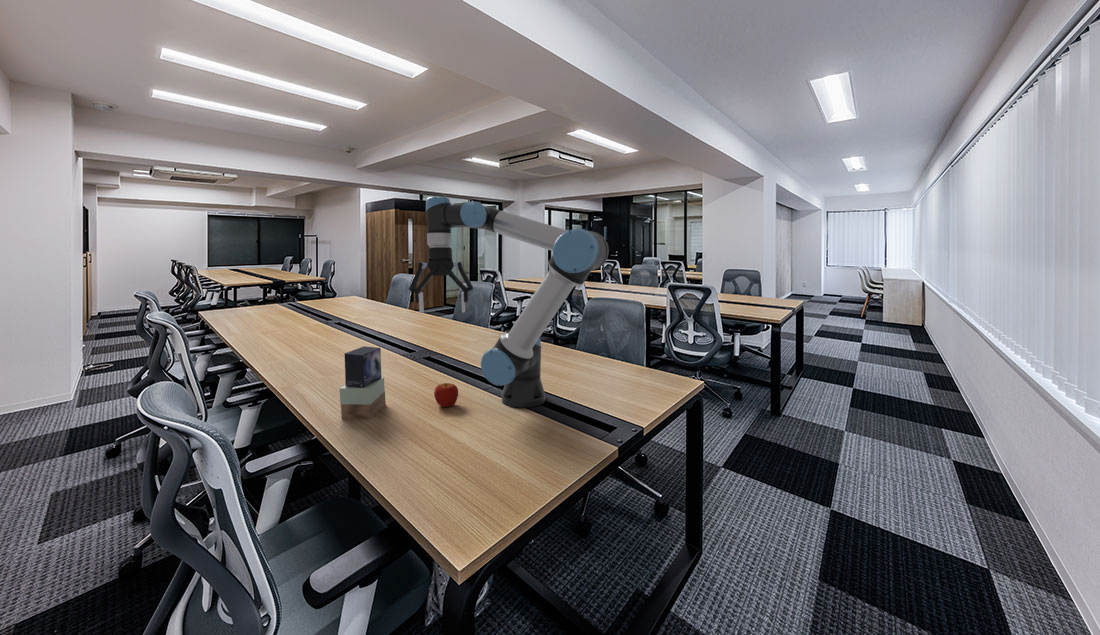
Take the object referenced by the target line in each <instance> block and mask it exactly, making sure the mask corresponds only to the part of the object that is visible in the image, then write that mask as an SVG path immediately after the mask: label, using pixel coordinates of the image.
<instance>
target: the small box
mask: <svg viewBox="0 0 1100 635" xmlns="http://www.w3.org/2000/svg"><path fill="white" fill-rule="evenodd" d="M381 351H382V350H381V347H375V346H365V345H364V346H360V347H359V348H356V349H353V350H350V351H348V352H344V373H345V374H344V377H345V378H344V379H345V384H344V385H345V386H350V387H361V388H364V387H365V386H367V385H369V384H371V383H373V382H375V381H377V380H379V379H381V377H382V355H381V354H382V353H381Z"/></svg>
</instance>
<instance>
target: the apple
mask: <svg viewBox="0 0 1100 635" xmlns="http://www.w3.org/2000/svg"><path fill="white" fill-rule="evenodd" d="M433 396H434V399H435V401H436V403H437V404H438V406H441V407H443V408H451V407H453V406H454V405H455V404H456V402H457V401H458V397H459V388H458V386H456V385H455V384H454V383H449V382H444V383H441V384H438V385H437V386H436V387H435V389H434V393H433Z"/></svg>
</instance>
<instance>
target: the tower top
mask: <svg viewBox="0 0 1100 635" xmlns="http://www.w3.org/2000/svg"><path fill="white" fill-rule="evenodd" d="M384 392H385V393H386V390H385V377H384V376H381V379H379V380H377V381H375V382H373V383H371V384H369V385H367V386H365V387H364V388H361V387H350V386H345V384H343V386H341V387H340V388H339V404H340V405H341V404H372V403H373V402H374V401H375V400H376V399H377V398H378V397H379V396H380V395H381V394H383V393H384Z"/></svg>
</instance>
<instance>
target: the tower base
mask: <svg viewBox="0 0 1100 635" xmlns="http://www.w3.org/2000/svg"><path fill="white" fill-rule="evenodd" d="M386 403H387V402H386V391H385V392H384V393H383V394H381V395H380V396H379V397H378V398H377V399H376V400H375V401H374V402H373V403H372V404H340V413H341V419H357V420H358V419H362V420H365V419H367V420H369V419H372V418H374V417H375V416H376V415H377V414H378V413H379V412H380V411H381V410H382V409H383V408H384V407H385V406H386V405H387V404H386Z"/></svg>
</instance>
